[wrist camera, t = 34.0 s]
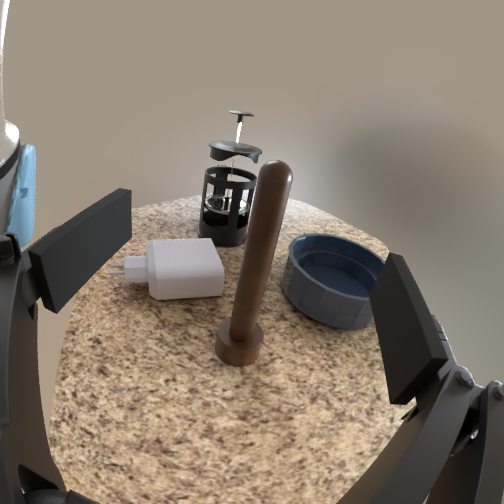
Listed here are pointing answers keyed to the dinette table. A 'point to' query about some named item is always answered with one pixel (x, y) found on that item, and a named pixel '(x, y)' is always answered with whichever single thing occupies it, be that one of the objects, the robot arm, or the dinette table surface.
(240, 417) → the dinette table surface
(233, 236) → the french press
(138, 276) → the charger
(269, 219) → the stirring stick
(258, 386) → the dinette table surface
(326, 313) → the bowl
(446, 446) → the robot arm
